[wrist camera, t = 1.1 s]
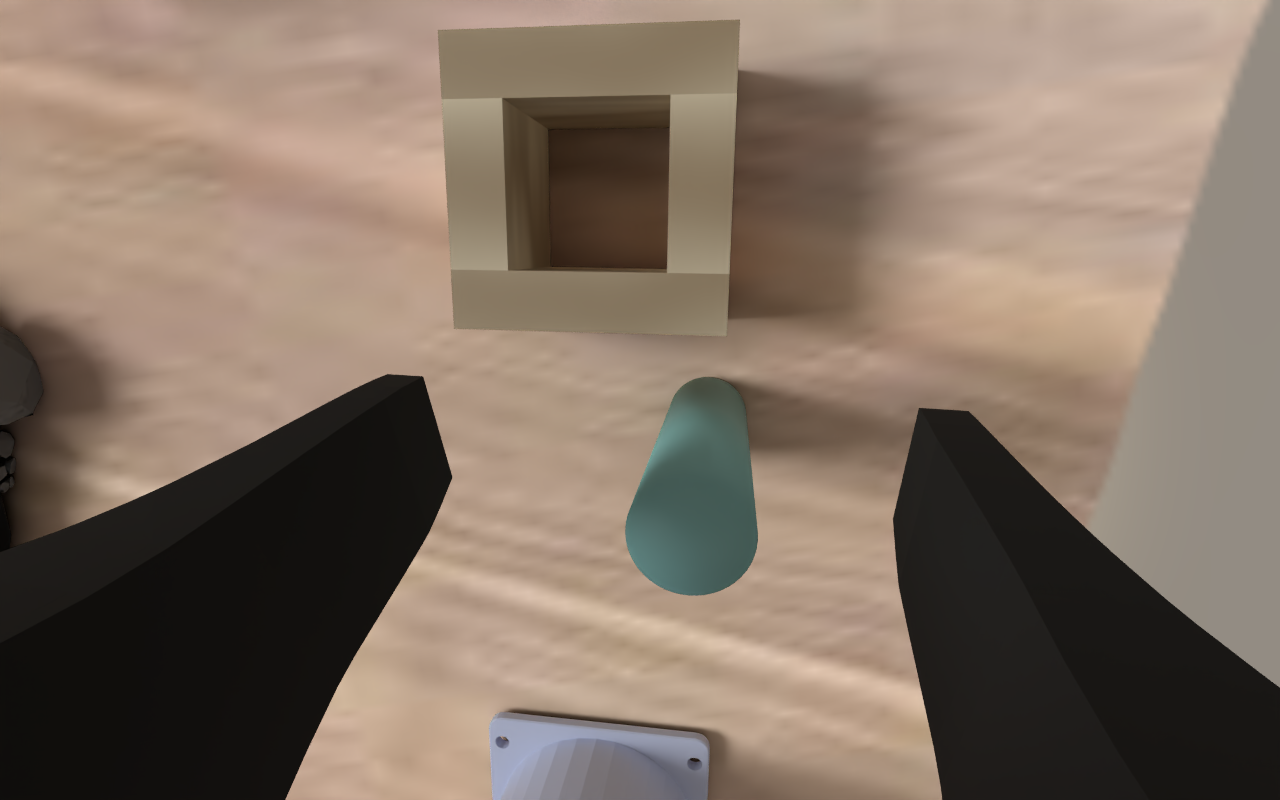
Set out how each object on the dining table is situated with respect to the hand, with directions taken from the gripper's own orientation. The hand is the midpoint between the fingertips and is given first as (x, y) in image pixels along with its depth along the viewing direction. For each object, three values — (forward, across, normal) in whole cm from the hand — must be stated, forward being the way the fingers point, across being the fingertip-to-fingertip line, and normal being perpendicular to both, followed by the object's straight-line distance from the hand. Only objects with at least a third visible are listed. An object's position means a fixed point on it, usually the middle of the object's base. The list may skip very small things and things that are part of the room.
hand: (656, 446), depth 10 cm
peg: (+9, 0, +6) cm, 11 cm away
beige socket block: (+11, +3, 0) cm, 12 cm away
